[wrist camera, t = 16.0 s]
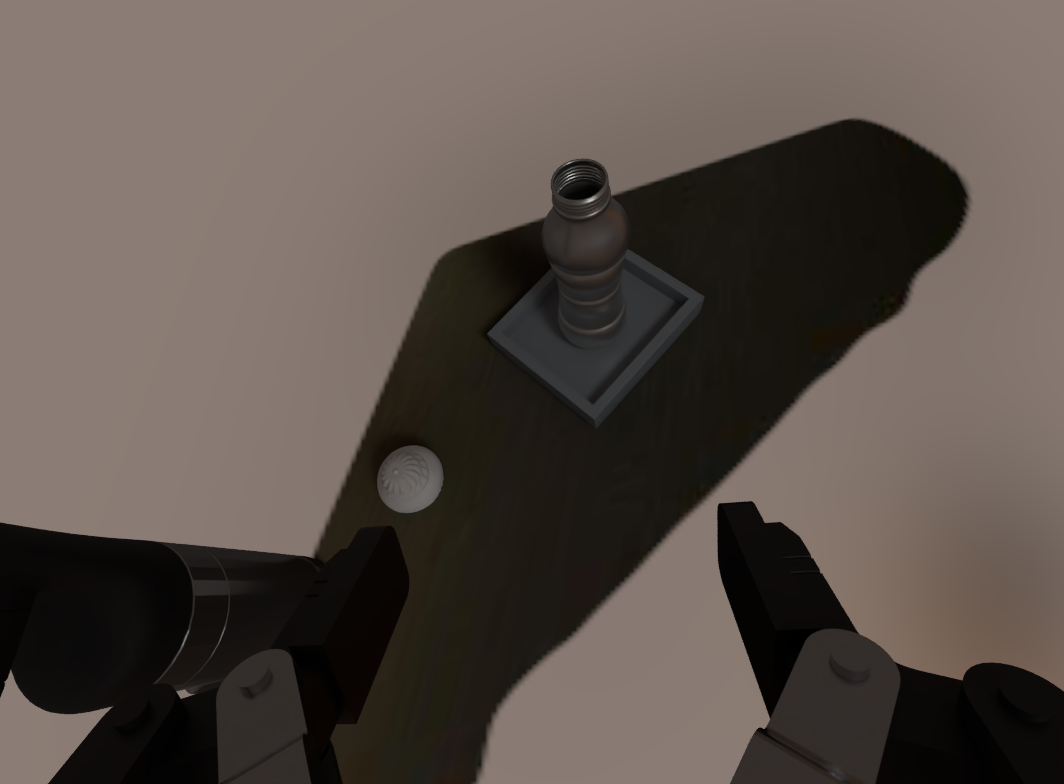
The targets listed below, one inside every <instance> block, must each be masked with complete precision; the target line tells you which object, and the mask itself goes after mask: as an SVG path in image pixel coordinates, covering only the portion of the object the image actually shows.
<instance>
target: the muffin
mask: <svg viewBox="0 0 1064 784" xmlns="http://www.w3.org/2000/svg"><path fill="white" fill-rule="evenodd" d="M443 480H444V478H443V469H442V465H441V462H440V460H439V459H438V457H437V456H436V455H435V454H434V453H433V452H432V451H430V450H429V449H427V448H425V447H422V446H416V445H411V446H405V447H402V448H399V449H397V450H395V451H393V452H392V453H391V454H390V455H389V456H387V458H386V459H385V460H384V461H383V463H382V465H381V467H380V469H379V472H378V477H377V487H378V492H379V495H380V497H381V499H382V501H383V502H384V503H385V504H386V505H387V506H388V507H389V508H391V509H392V510H394V511H397V512H401V513H412V512H416V511H419V510H422V509H424V508H425V507H427V506H429V505H430V504H431V503H432V502H434V500H435V499H436V497H437V496H439V495H438V494H439V492H440V491H441V486H443V484H442V482H443Z"/></svg>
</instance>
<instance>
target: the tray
mask: <svg viewBox="0 0 1064 784" xmlns="http://www.w3.org/2000/svg"><path fill="white" fill-rule="evenodd" d="M621 283H622V290H623V295H624V298H625V301H626V305H627V310H628V317H627V322H626V324H625V327H624V329H623V331H622V333H621V335H620V336H619V337H618V338H617V339H616V340H615V341H614V342H613V343H611V344H609V345H608V346H605V347H603V348H598V349H585V348H581V347H578V346H576V345H574V344H572V343H571V342H570V341H568V340H567V338H566V337H565V336H564V334H563V332H562V331H561V329H560V327H559V324H558V304H559V288H558V284H557V281H556V277H555V274H554V271H553V269H552V268H551V269H550V270H549V271H548V272H547V273H546V274H545V275H544V276H543V277H542V278H541V279H540V280H539V281H538V282H537V283H536V284H535V285H534V286H533V287H532V288H531V289H530V290H529V291H528V292H527V293H526V294H525V296H524V297H523V298H522V299H521V300H520V301H519V302H518V303H517V304H516V305H515V306H514V307H513V308H512V309H511V310H510V311H509V312H508V313H507V314H506V315H505V316H504V317H503V318H502V319H501V320H500V321H499V322H498V323H497V324H496V325H495V326H494V327H493V328H492V329H491V330H490V331H489V332H488V333H487V335H488V337H489V339H490V340H491V342H492V344H493V346H494V348H496V349H497V350H498V351H499V352H501V353H502V354H503V355H504V356H506V357H507V358H508V359H509V360H511V361H512V362H513V363H514V364H516V365H517V366H518V367H519V368H521V369H522V370H523V371H524V372H525V373H527V374H528V375H529V376H530V377H532V378H533V379H534V380H535V381H537V382H538V383H539V384H540V385H542V386H543V387H544V388H545V389H547V390H548V391H549V392H550V393H551V394H553V395H554V396H555V397H556V398H558V399H559V400H560V401H561V402H563V403H564V404H565V405H566V406H568V407H569V408H570V409H571V410H573V411H574V412H575V413H576V414H578V415H579V416H580V417H581V418H582V419H584V420H585V421H586V422H587V423H589V424H590V425H591V426H592V427H594V428H595V429H597V428H598V427H599V426H600V424H601V423H602V422H603V421H604V420H605V419H606V418H607V417H608V415H609V414H610V413H611V412H612V411H613V410H614V409H615V408H616V406H617V405H618V404H619V403H620V402H621V401H622V400H623V399H624V397H625V396H626V395H627V394H628V393H629V392H630V391H631V390H632V388H633V387H634V386H635V385H636V384H637V383H638V382H639V381H640V379H641V378H642V377H643V376H644V375H645V374H646V373H647V372H648V370H649V369H650V368H651V367H652V366H653V365H654V364H655V363H656V361H657V360H658V359H659V358H660V357H661V356H662V355H663V354H664V352H665V351H666V350H667V349H668V348H669V347H670V346H671V345H672V343H673V342H674V341H675V340H676V339H677V338H678V337H679V336H680V334H681V333H682V332H683V331H684V330H685V329H686V328H687V327H688V325H689V324H690V323H691V322H692V321H693V320H694V319H695V318H696V316H697V315H698V314H699V313H700V310H701V307H702V304H703V300H704V296H703V295H701V294H699V293H698V292H696V291H694V290H693V289H691V288H690V287H688V286H686V285H685V284H683V283H682V282H680V281H678V280H677V279H675V278H674V277H672V276H670V275H669V274H667V273H666V272H664V271H662V270H661V269H659V268H657V267H656V266H654V265H653V264H651V263H649V262H648V261H646V260H645V259H643V258H641V257H640V256H638V255H637V254H635V253H633V252H632V251H630V250H629V249H627V252H626V256H625V260H624V264H623V271H622V280H621Z"/></svg>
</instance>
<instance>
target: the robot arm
mask: <svg viewBox="0 0 1064 784" xmlns="http://www.w3.org/2000/svg"><path fill="white" fill-rule="evenodd" d="M717 513H718V515H717V516H718V517H717V519H718V564H719V569H720V574H721V579H722V583H723V586H724V588H725V591H726V594H727V597H728V600H729V603H730V605H731V608H732V611H733V614H734V617H735V620H736V623H737V626H738V628H739V631H740V634H741V637H742V640H743V643H744V645H745V648H746V651H747V654H748V657H749V660H750V662H751V665H752V668H753V671H754V674H755V677H756V680H757V683H758V685H759V688H760V691H761V694H762V697H763V700H764V703H765V705H766V708H767V711H768V714H769V717H770V721H769V723H768V725H767V727H766V728H765V729H763V728H758V729H757V730H756V731H755V733H754V734H753V736H752V738H751V740H750V742H749V744H748V746H747V748H746V750H745V753H744V755H743V757H742V759H741V761H740V763H739V766H738V768H737V770H736V772H735V774H734V776H733V778H732V781H731V783H730V784H1064V691H1062V690H1061V689H1059V688H1058V687H1057V686H1055V685H1054V684H1052V683H1050V682H1049V681H1047V680H1046V679H1044V678H1042V677H1040V676H1038V675H1036V674H1034V673H1032V672H1029V671H1026V670H1024V669H1022V668H1018V667H1015V666H1012V665H1007V664H1002V663H981V664H977V665H975V666H973V667H971V668H970V669H968V670H967V671H966V673H965V675H964V677H963V681H962V680H958V679H954V678H949V677H945V676H940V675H936V674H932V673H927V672H923V671H919V670H915V669H912V668H908V667H906V666H903V665H900V664H898V663H896V662H894V661H893V660H892V658H891V657H890V656H889V654H888V653H887V652H886V651H885V650H884V649H882V648H881V647H880V646H879V645H877V644H876V643H875V642H873V641H871V640H870V639H868V638H866V637H864V636H862V635H860V634H859V633H858V632H857V631H856V629H855V627H854V626H853V624H852V622H851V621H850V619H849V617H848V616H847V614H846V612H845V611H844V609H843V608H842V606H841V604H840V602H839V601H838V599H837V597H836V596H835V594H834V593H833V591H832V589H831V588H830V586H829V584H828V583H827V581H826V579H825V578H824V576H823V574H821V573H820V569H819V568H818V566H817V565H816V563H815V561H814V559H813V558H811V555H810V553H809V551H808V550H807V548H806V546H805V545H804V543H803V541H802V540H801V538H800V537H799V536H798V535H797V534H796V533H794V532H793V531H792V530H790V529H789V528H788V527H787V526H785V525H784V524H783V523H781V522H775V523H764V521H763V519H762V517H761V515H760V513H759V511H758V509H757V507H756V506H755V504H754V503H753V502H752V501H748V502H734V503H720V504H719V505H718V511H717ZM408 591H409V574H408V570H407V566H406V563H405V560H404V557H403V554H402V550H401V547H400V544H399V541H398V538H397V535H396V532H395V530H394V528H393V527H392V526H378V527H364V528H361V529H360V530H359V531H358V532H357V534H356V535H355V537H354V539H353V540H352V542H351V544H350V545H349V547H348V549H341V550H340V551H339V552H338V553H337V554H335V555H334V556H333V557H332V558H331V559H330V560H329V561H327V562H326V563H325V564H323V563H322V562H320V561H318V560H316V559H314V558H310V557H306V556H295V555H286V554H277V553H267V552H257V551H246V550H237V549H226V548H216V547H206V546H197V545H187V544H175V543H164V542H155V541H146V540H133V539H118V538H106V537H96V536H87V535H78V534H70V533H63V532H56V531H48V530H42V529H35V528H30V527H23V526H18V525H12V524H5V523H0V697H1V694H2V692H3V689H4V686H5V683H4V682H5V681H6V680H7V678H8V675H9V673H10V670H11V671H12V674H13V676H14V679H15V682H16V684H17V686H18V688H19V689H20V691H21V692H22V693H23V695H24V696H25V697H26V698H27V699H28V700H29V701H30V702H31V703H33V704H34V705H35V706H37V707H39V708H41V709H43V710H45V711H49V712H53V713H59V714H78V713H85V712H91V711H95V710H99V709H104V708H108V707H112V706H113V707H112V708H111V709H110V710H109V711H108V712H107V713H106V714H105V715H104V716H103V717H102V718H101V720H100V721H99V722H98V723H97V724H96V726H95V727H94V728H93V729H92V730H91V732H90V733H89V734H88V735H87V737H86V738H85V739H84V740H83V741H82V743H81V744H80V745H79V746H78V748H77V749H76V750H75V751H74V753H73V754H72V755H71V756H70V758H69V759H68V760H67V761H66V762H65V764H64V765H63V766H62V767H61V768H60V770H59V771H58V772H57V773H56V775H55V776H54V777H53V778H52V779H51V781H50V782H49V783H48V784H343V783H342V779H341V775H340V771H339V767H338V763H337V759H336V755H335V751H334V748H333V745H332V742H331V740H330V737H331V735H332V733H333V731H334V728H335V726H336V724H357V721H358V719H359V716H360V714H361V711H362V709H363V706H364V704H365V701H366V699H367V696H368V694H369V691H370V689H371V686H372V684H373V681H374V679H375V676H376V674H377V671H378V669H379V666H380V664H381V661H382V659H383V656H384V654H385V651H386V649H387V646H388V644H389V641H390V639H391V636H392V634H393V631H394V629H395V626H396V624H397V621H398V619H399V616H400V614H401V611H402V609H403V606H404V604H405V601H406V599H407V596H408ZM183 689H186V691H187V692H188V693H190V694H195V695H192V696H189V697H186V698H183V699H180V697H179V695H178V694H177V692H176V691H180V690H183Z"/></svg>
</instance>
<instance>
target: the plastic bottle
mask: <svg viewBox="0 0 1064 784" xmlns="http://www.w3.org/2000/svg"><path fill="white" fill-rule="evenodd" d="M551 190H552V202H553V208H552V209H551V211H550V212H549V213H548V215H547V217H546V219H545V222H544V225H543V230H542V245H543V248H544V251H545V254H546V256H547V258H548V260H549V263H550V265H551V267H552V269H553V271H554V274H555V277H556V281H557V284H558V288H559V304H558V324H559V327H560V329H561V331H562V332H563V334H564V336H565V337H566V338H567V340H568V341H570V342H571V343H572V344H574V345H576V346H578V347H581V348H585V349H598V348H603V347H605V346H608V345H609V344H611V343H613V342H614V341H615V340H616V339H617V338H618V337H619V336H620V335H621V333H622V331H623V329H624V327H625V324H626V322H627V317H628V310H627V305H626V301H625V298H624V295H623V290H622V283H621V280H622V271H623V264H624V260H625V256H626V252H627V248H628V245H629V240H630V234H631V230H630V223H629V220H628V217H627V215H626V213H625V211H624V209H623V208H622V206H621V205H620V204H619V203H618V202H617V201H616V200H614V199H613V198H612V197H611V190H610V186H609V181H608V174H607V171H606V169H605V168H604V167H603V166H602V165H601V164H600V163H598V162H596V161H594V160H590V159H576V160H572V161H569V162H567V163H565V164H563V165H561V166H560V167H559V168H558V169H557V170H556V171H555V172H554V174H553V176H552V179H551Z"/></svg>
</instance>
